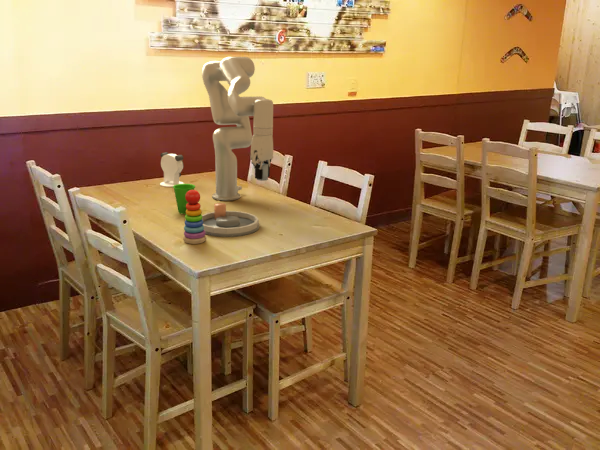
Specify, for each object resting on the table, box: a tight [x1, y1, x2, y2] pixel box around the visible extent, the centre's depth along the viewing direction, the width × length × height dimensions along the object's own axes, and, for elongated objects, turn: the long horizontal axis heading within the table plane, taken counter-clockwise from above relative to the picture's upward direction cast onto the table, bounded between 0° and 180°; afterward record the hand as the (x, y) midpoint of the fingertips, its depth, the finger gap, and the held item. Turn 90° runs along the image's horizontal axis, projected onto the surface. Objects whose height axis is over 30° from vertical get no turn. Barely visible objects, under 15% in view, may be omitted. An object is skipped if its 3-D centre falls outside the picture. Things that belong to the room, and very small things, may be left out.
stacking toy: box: [182, 189, 207, 245], centre depth 204 cm, size 8×8×19 cm
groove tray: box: [201, 210, 260, 238], centre depth 223 cm, size 24×24×3 cm
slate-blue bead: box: [256, 162, 269, 182], centre depth 231 cm, size 4×4×6 cm
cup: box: [172, 183, 196, 215], centre depth 239 cm, size 9×9×11 cm
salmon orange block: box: [213, 202, 227, 220], centre depth 228 cm, size 4×4×6 cm
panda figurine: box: [159, 151, 185, 188], centre depth 283 cm, size 12×11×15 cm
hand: (262, 177), depth 232 cm, fingers closed on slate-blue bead, 4 cm apart
